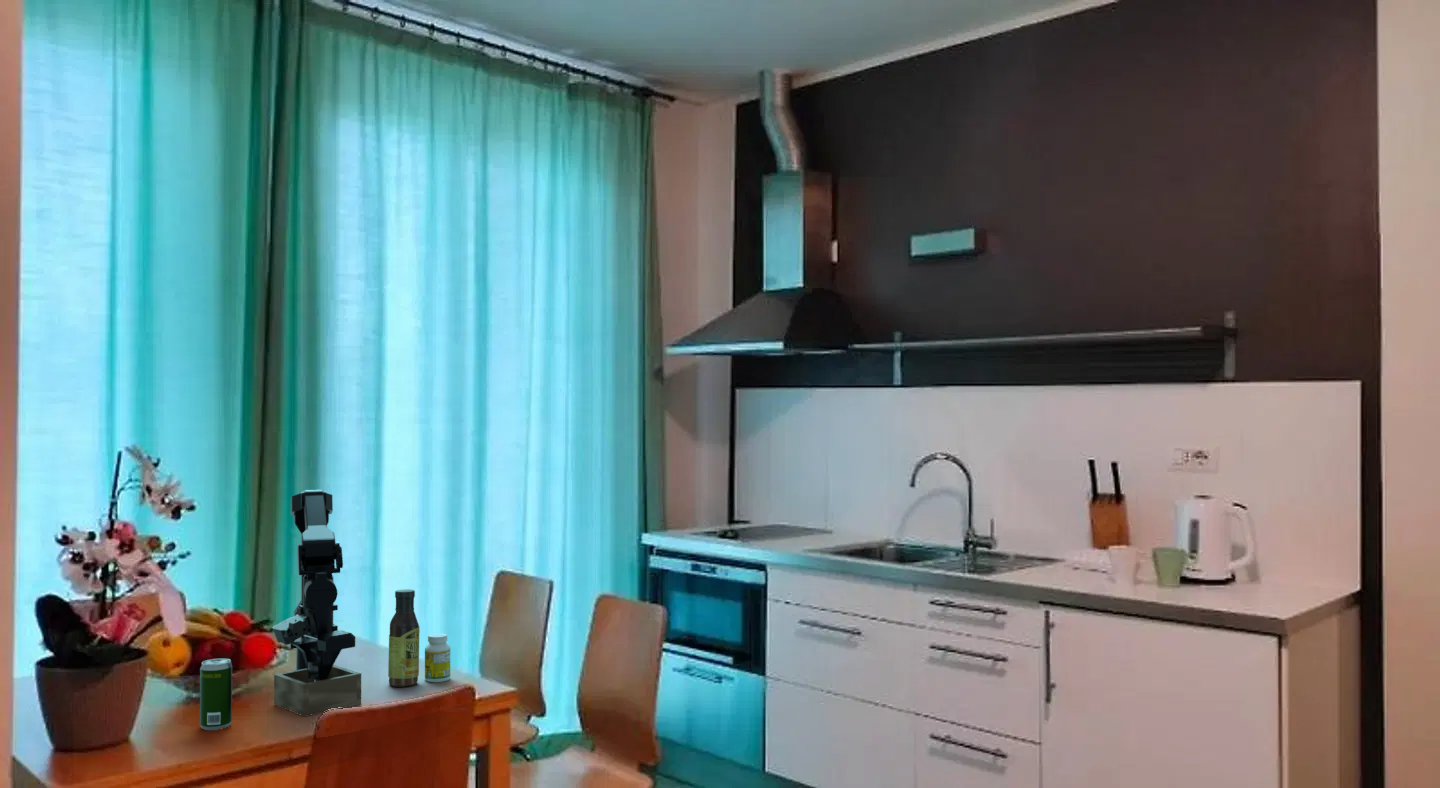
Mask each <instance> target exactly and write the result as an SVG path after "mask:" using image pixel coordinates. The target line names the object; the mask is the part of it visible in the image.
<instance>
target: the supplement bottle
mask: <svg viewBox="0 0 1440 788" xmlns="http://www.w3.org/2000/svg"><path fill="white" fill-rule="evenodd" d="M447 641H448V634H446V633H431V634H428V636H427V642H428V644H427V645H426V646H425V647H424V680H425V681H426V682H429V683H444V682H447V681H449V680H450V678H451V646H450V644H449V643H447Z"/></svg>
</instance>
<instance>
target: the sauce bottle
mask: <svg viewBox="0 0 1440 788" xmlns="http://www.w3.org/2000/svg"><path fill="white" fill-rule="evenodd" d="M415 597H416V591H415V589H409V588H408V589H407V588H406V589H397V590H395V591H394V598H395V608H394V609H395V613H394V615H393V616H392V618H391V620H390V622H389V635H388V665H387V667H388V672H387V673H388V674H387V675H388V684H389V685H390V686H391V687H395V688H396V687H397V688H398V687H399V688H403V687H410V686H414V685H416V684H417V683H418V680H419V676H420V675H419V673H420V625H419V622H418V618H417V616H416V613H415V606H414V605H415V604H414V603H415V600H414V599H415Z"/></svg>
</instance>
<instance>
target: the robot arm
mask: <svg viewBox="0 0 1440 788" xmlns="http://www.w3.org/2000/svg"><path fill="white" fill-rule="evenodd" d="M333 505H334V503H333V494H331V493H327V491H326V490H323V489H305V490H303V491H301V492H300V493H298V494H294V495H292V496H291V498H290V515H291V517H292V516H293V522H294V524H295V526H296V528H297V529H298V531H299V533H300V534H301V540H300V543H297V566H298V568H297V569H298V571H297V572H298V575H299V576H301V577H300V581H301V582H300V583H301V586H300V587H301V589H300V591H301V592H300V594H301V595H300V599H301V600H300V601H299V602H298V603H297V605H296V608H295V609H294V610H293V616H291V617H288V618H286V619H284V620H282V621H281V622H278V623H277V624H275V625H273V626H272V630H273V633H274V636H275V638H276V641H277V643H279V644H280V643H282V644H284V645H286V646H287V645H289V649H290V650H293V649H296V653H295V654H296V655H295V656H296V658H295V659H296V663H295V664H296V667H295V668H296V669H295V670H301V669H306V668H307V670H308V662H309V661H312V660H317V662H318V671H319V678H320V680H325V679H327V677H328V675H329V673H330V671H331V669H332V667H333V665H335V663H336V660H337V658H338V656H339V655H340V654H341V652H342V650H345V649H350V648H355V647H356V636H355V635H354V634H353V633H352V632H350V631H345V630H339V629H338V627H339V626H338V625H337V624H334V611H338V609H339V608H338V604H334V603H335V602H336V600H337V597H338V589H337V586H336V584H335V582H334V575H333V574H340V573H341V569H343V568H344V563H343V549H342V548H343V547H342V546H341V545H340V543H339V541H336V538H335V537H336V536H335V532H334V531H332V530H331V529H330V528H328V524H329V522H330V521H329V520H330V519H329V518H330V516H329V515H332V514H333V510H334V509H333ZM295 670H292V671H295Z"/></svg>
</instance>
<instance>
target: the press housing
mask: <svg viewBox="0 0 1440 788" xmlns="http://www.w3.org/2000/svg"><path fill="white" fill-rule="evenodd" d="M273 689H274V690H273V705H274V704H275V705H274V706H276V705H277V706H276V707H278V706H280V707H279V708H281V707H283V708H286V709H288V710H291V711H293V712H296V713H298V714H297V715H299V714H301V715H303V716H302V717H304V716H305V717H307V716H306V715H309V716H312V715H317V714H323V713H325V712H324V711H326V710H328V709H331V708H338V707H345V706H349V707H352V706H357V705H362V673H361V672H358V671H354V670H351V669H348V668H346V667H342V666H339V665H336V664H333V667H332V669H331V671H330V673H329V675H328V677H327V679H325V680H320V681H315V682H314V679H310V678H308V670H307V668H306V669H301V670H296V669H295V671H293V670H289V671H284V672H282V673H280V672H279V673H277V674H276V673H275V674H274V675H273ZM283 708H282V709H283ZM345 708H346V707H345ZM286 709H285V710H286ZM288 710H287V711H288ZM291 711H290V712H291ZM293 712H292V713H293ZM296 713H295V714H296ZM311 714H312V715H311ZM301 715H300V716H301Z"/></svg>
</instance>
